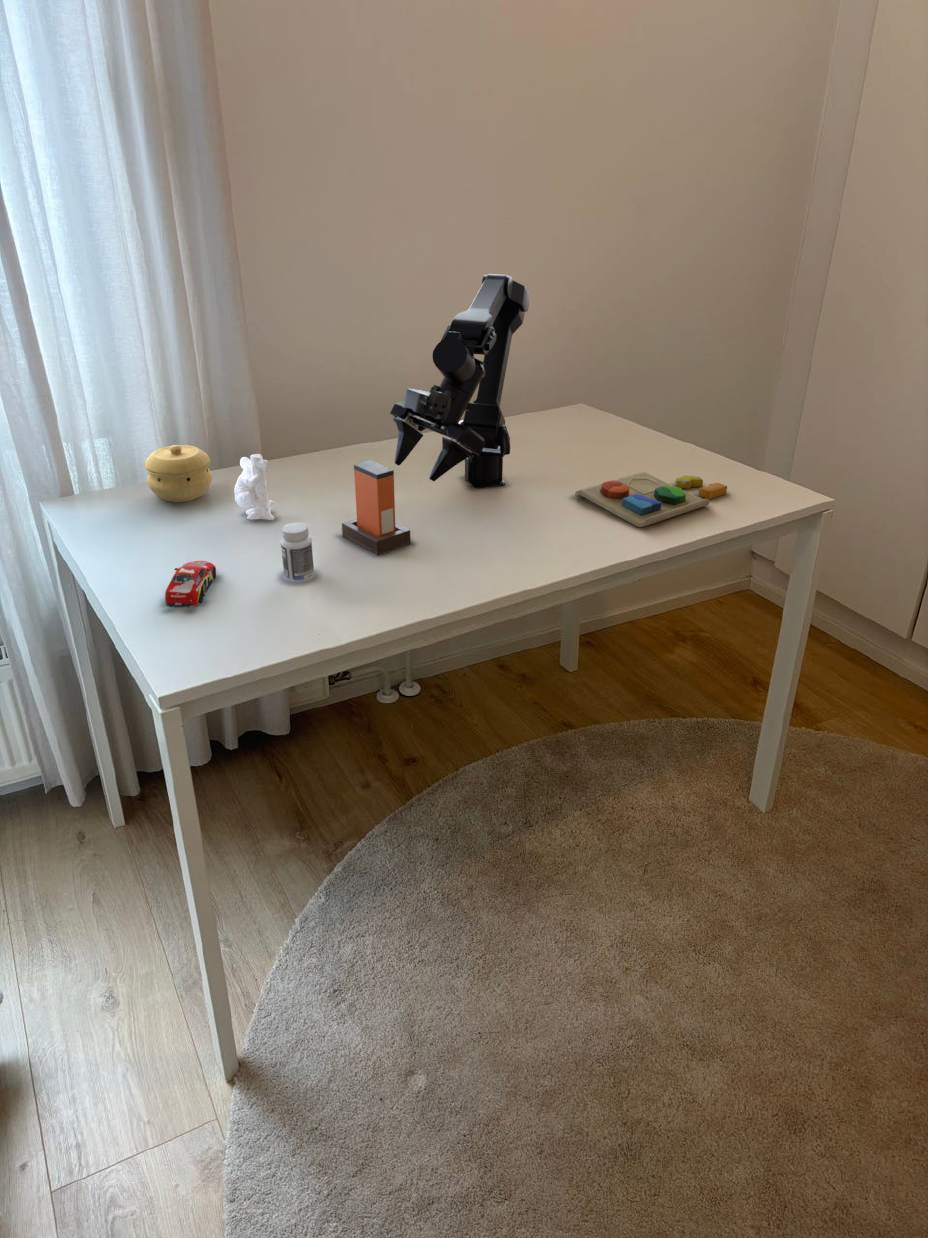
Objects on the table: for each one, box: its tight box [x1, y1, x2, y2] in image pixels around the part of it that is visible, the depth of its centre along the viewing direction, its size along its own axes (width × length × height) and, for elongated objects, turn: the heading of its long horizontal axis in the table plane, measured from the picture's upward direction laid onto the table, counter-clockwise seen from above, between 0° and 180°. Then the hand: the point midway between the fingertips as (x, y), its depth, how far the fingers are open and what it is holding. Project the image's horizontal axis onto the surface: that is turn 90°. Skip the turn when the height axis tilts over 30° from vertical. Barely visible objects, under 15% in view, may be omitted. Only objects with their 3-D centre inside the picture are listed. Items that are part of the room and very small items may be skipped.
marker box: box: [353, 459, 396, 538], centre depth 160 cm, size 3×6×12 cm, turn 41°
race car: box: [164, 560, 217, 608], centre depth 145 cm, size 13×5×4 cm, turn 177°
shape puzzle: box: [574, 471, 728, 528], centre depth 179 cm, size 25×19×3 cm
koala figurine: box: [233, 453, 275, 521], centre depth 169 cm, size 8×7×12 cm
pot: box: [144, 444, 213, 503], centre depth 177 cm, size 12×12×10 cm
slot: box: [341, 517, 412, 556], centre depth 162 cm, size 7×10×2 cm
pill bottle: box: [280, 522, 315, 583], centre depth 149 cm, size 5×5×8 cm
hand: (413, 472), depth 163 cm, fingers open, 9 cm apart
